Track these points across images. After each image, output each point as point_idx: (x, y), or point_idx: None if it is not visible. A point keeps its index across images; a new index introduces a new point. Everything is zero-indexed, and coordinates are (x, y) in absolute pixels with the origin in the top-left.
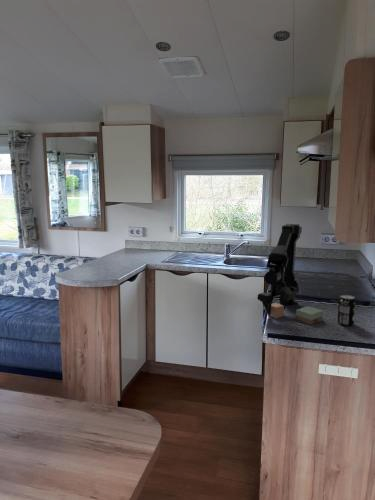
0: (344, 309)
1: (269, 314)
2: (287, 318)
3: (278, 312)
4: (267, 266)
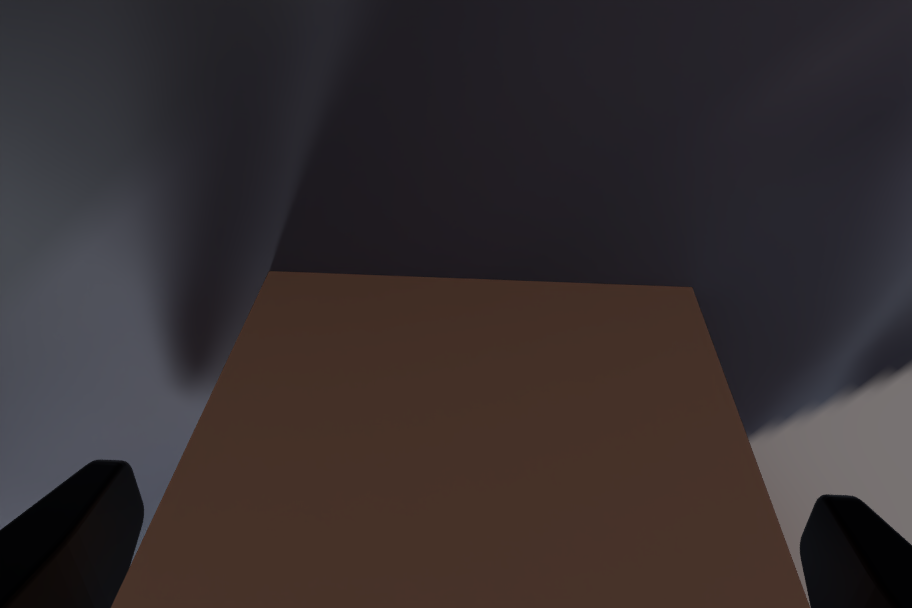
0: None
1: (878, 518)
2: (323, 9)
3: (582, 426)
4: None
